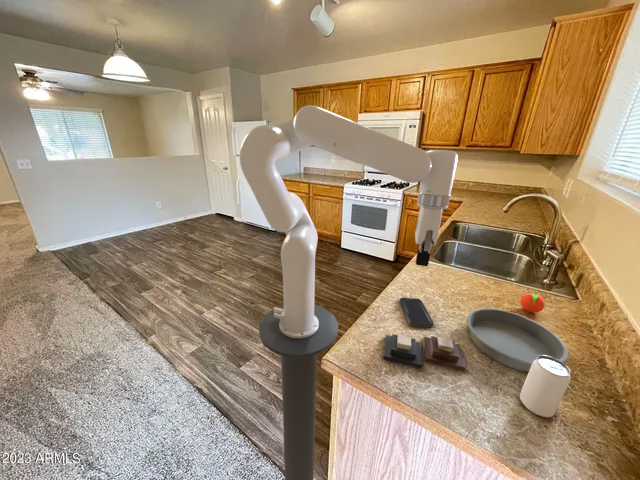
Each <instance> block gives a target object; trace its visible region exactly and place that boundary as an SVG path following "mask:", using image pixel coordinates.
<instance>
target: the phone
mask: <svg viewBox="0 0 640 480" xmlns="http://www.w3.org/2000/svg"><path fill="white" fill-rule="evenodd" d="M399 303H400V306H401V308H402V311H403V313H404V315H405V318H406V321H407V323H408V325H410V326H412V327H424V328H426V327H427V328H432V327H433V326H434V321H433V319H432V317H431V315H430V314H429V312H428V310H427V308H426V307H425V305H424V302H423V301H422V299H420V298H416V297H415V298H414V297H400V298H399Z"/></svg>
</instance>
